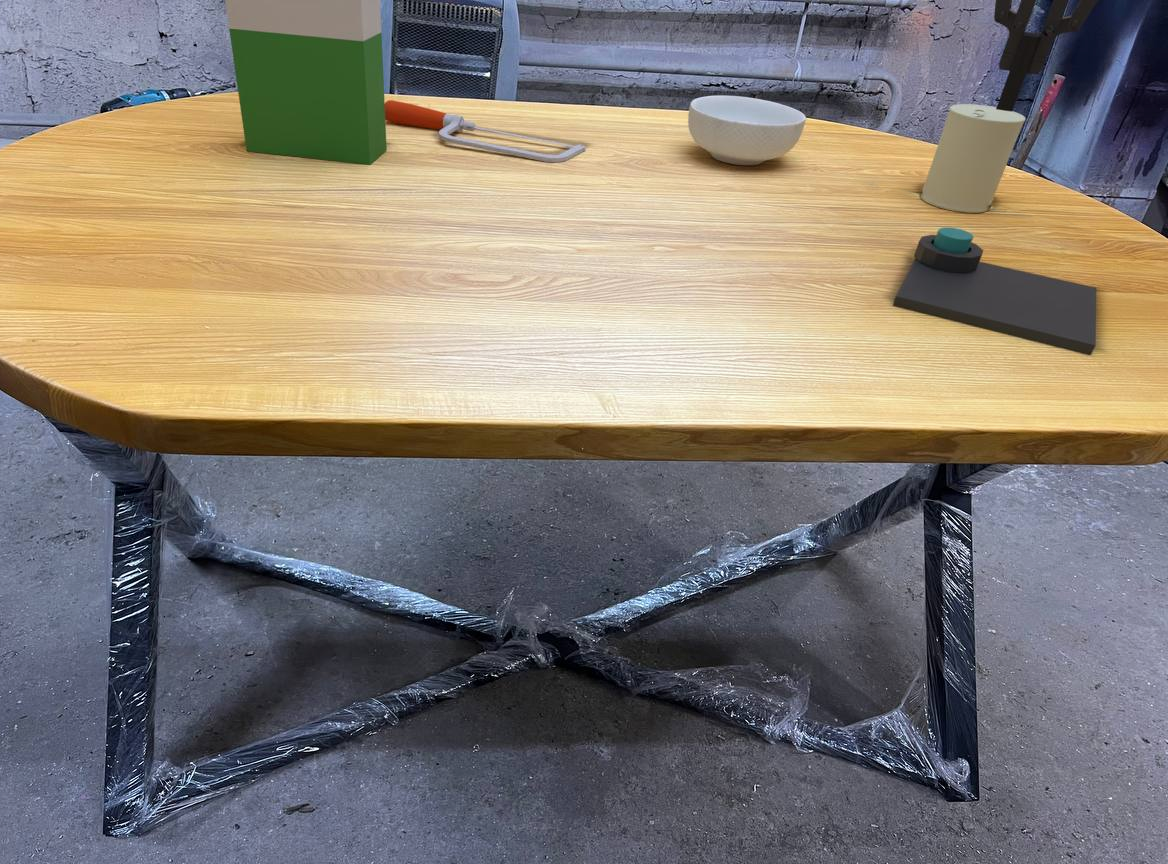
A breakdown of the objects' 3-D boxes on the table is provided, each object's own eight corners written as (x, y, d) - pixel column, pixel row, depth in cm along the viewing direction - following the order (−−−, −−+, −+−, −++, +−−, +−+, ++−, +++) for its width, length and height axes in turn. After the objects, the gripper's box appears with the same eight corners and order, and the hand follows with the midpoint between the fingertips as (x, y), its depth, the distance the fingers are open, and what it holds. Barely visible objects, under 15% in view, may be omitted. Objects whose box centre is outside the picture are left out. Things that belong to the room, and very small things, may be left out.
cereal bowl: (729, 180, 115) (740, 126, 111) (660, 147, 127) (667, 98, 123) (818, 169, 122) (831, 118, 118) (745, 139, 134) (754, 92, 129)
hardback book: (246, 151, 113) (217, -56, 99) (268, 137, 119) (244, -60, 105) (370, 164, 112) (358, -44, 97) (386, 150, 118) (377, -49, 103)
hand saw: (589, 134, 123) (571, 152, 115) (586, 156, 125) (568, 175, 117) (390, 97, 129) (360, 111, 122) (390, 118, 131) (361, 133, 124)
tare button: (969, 247, 91) (975, 232, 90) (965, 257, 89) (971, 241, 88) (935, 240, 92) (940, 224, 91) (930, 249, 90) (936, 234, 89)
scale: (1091, 295, 89) (1104, 269, 87) (1090, 356, 77) (1105, 327, 75) (915, 255, 96) (924, 230, 94) (889, 306, 84) (899, 278, 82)
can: (907, 198, 113) (938, 104, 106) (938, 186, 118) (970, 97, 111) (972, 218, 108) (1009, 121, 101) (1002, 205, 113) (1039, 112, 106)
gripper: (1028, -205, 67) (930, 104, 82) (1216, -201, 63) (1077, 126, 77) (1034, -197, 73) (941, 91, 87) (1207, -193, 68) (1078, 111, 82)
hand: (1005, 107), depth 82 cm, fingers closed
